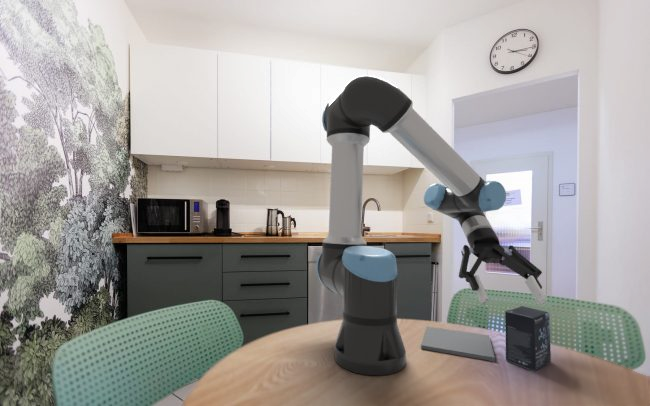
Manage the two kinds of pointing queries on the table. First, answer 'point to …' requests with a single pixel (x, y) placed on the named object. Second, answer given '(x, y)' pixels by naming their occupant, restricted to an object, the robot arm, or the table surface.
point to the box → (527, 337)
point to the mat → (458, 343)
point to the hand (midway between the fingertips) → (513, 302)
